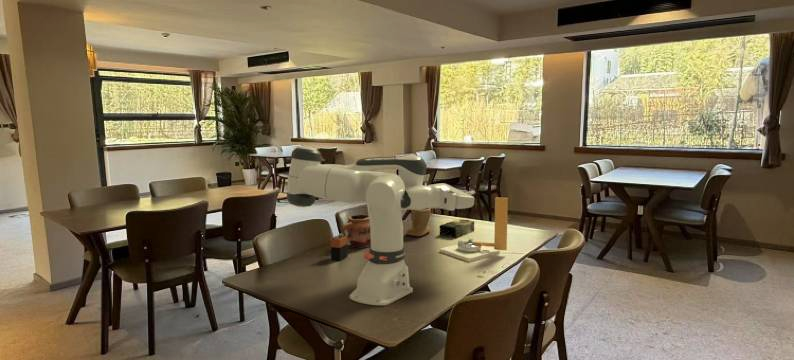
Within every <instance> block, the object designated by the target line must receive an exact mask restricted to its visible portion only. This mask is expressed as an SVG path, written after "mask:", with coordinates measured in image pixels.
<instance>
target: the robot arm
mask: <svg viewBox="0 0 794 360" xmlns="http://www.w3.org/2000/svg"><path fill="white" fill-rule="evenodd" d="M325 161H326V159H325V158H323V155H322V153H321V152H320V151H319V150H318V149H317V148H314V147H312V146H309V145H302V146H299V147H295V148H294V149H293V151H292V154H291V162H290V166H289V170H288V171H289V172H288V174H287V176H288V177H287V192H286V198H287V201H288V203H289V204H290V205H292V206H294V207H297V208H307V207H311V206H312V205H314V204H315V202H316V200H317V198H319V199H324V200H329V201H330V200H331V201H338V202H343V203H350V204H353V203H362V204H363V203H365V204H366V205H367V206H366V207H367V213H368V214H367V215H369V220H370V235H371V246H369V250H368V252H365V253H364V255H363V259H365V260H367V263H366V264H365V266H364V267H363V268H362V271H361V272H360V274H359V276H358V278H357V281H356V282H357V283H356V288H355V289H354V290H353V291H352V292H351V293H350V294H349V299H350V300H352V301H354V302H357V303H360V304H365V305H371V306H389V305H390V304H392V303H394V302H396V301H398V300H399V299H402V298H403V297H405V296H408V295H409V294H412V293H414V290H413V287H412V286H410V276H409V266H408V265H407V264H406V261H405V256H406V251H405V247H404V223H403V219H402V218H403V217H402V209H404V210H409V211H412V210H421V209H426V208H431V209H443V210H447V211H451V212H452V211H455V209H457V210H463V209H468V208H469V209H470V208H473V206H474V205H475V197H474V196H473V195H472V192H471V191H469V190H463V189H457V187H453V186H452V185H450V184H447V183H445V182H444V183H443V182H442V183H434V184H428V185H424V178H425V173H426V170H427V167H428V166H427V163H426V161H425V160H424V158H423V157H422V156H420V155H418V154H417V155H416V154H408V155H400V156H399V155H398V156H378V157H377V156H376V157H375V156H374V157H365V158H360V159H357V161H356V162H355V163H352V164H346V165H345V164H338V163H337V164H334V163H333V164H332V163H330V164H328V163H325V164H322V163H321V162H325ZM378 170H398V174H396V173H393V172H382V171H378ZM401 208H402V209H401Z"/></svg>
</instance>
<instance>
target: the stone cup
mask: <svg viewBox="0 0 794 360" xmlns="http://www.w3.org/2000/svg"><path fill="white" fill-rule="evenodd" d="M431 209H432V208H426V209H421V210H410V211H411V212H410V219H411V224H412V227H411V228H409V229H407V230H406V231H405V234H406V235H408V236H412V237H413V236H414V237H421V236H424V235H426V234H428V233H429V232H431V230H432V228H431V227H430V226H428V224H429V220H430V218H431V213H432V210H431Z"/></svg>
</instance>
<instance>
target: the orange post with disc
mask: <svg viewBox="0 0 794 360" xmlns="http://www.w3.org/2000/svg"><path fill="white" fill-rule="evenodd" d="M508 201H509V198H508V197H499V196H497V197H495V198H494V235H493V236H494V239H493V241H494V242H484V241H483V242H482V241H474V239H473V238H468V241H463V240H458V241H457V244H458V250H459V251H462V252H479V251H481V246H486V247H491V248H493V249H494V250H500V251H507V250H508V249H507V248H508V246H507V245H508V210H509V209H508V207H509V202H508Z"/></svg>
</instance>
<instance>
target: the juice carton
mask: <svg viewBox="0 0 794 360" xmlns="http://www.w3.org/2000/svg"><path fill="white" fill-rule="evenodd" d="M438 227H439V237H441V236H443V235H446V234H448V232H449V233H451V231H452V232H453V234H451V237H452V238H454V239H456V238H458V237H463V235H464V236H466V235H468V234H470V233H472V232H475V221H473V220H469V219H461V218H460V219H459V218H458V219H456V220H452V221H449V222H446V223H443V224H440V225H439V226H438ZM453 230H454V231H453Z"/></svg>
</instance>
